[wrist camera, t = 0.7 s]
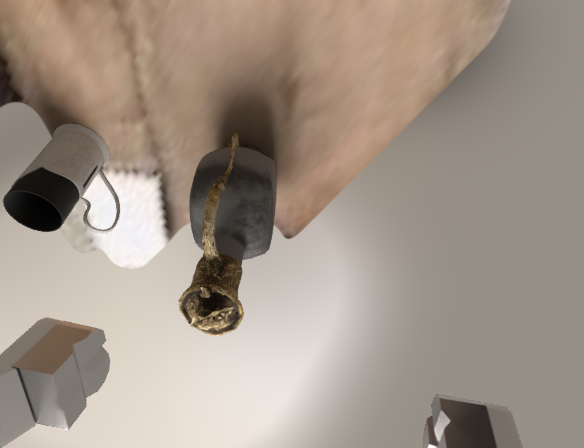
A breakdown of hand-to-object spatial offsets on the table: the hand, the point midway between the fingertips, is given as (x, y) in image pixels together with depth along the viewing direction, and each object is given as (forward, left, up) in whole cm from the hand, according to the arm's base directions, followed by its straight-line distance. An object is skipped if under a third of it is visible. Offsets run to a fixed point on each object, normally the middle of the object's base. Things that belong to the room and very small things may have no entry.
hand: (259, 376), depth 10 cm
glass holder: (+2, -45, -49) cm, 67 cm away
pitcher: (+16, -26, -49) cm, 57 cm away
